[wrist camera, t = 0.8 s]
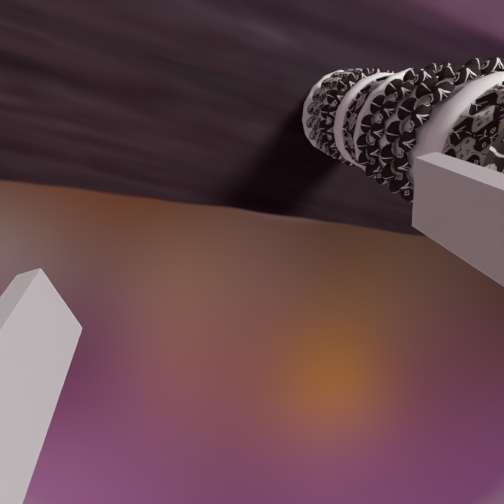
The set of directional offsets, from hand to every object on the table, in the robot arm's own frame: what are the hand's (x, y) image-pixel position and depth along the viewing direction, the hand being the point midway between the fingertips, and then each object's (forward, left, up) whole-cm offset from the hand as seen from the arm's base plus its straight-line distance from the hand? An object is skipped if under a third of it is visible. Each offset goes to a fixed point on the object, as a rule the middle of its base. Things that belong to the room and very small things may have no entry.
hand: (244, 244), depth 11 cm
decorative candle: (+4, +15, -26) cm, 30 cm away
